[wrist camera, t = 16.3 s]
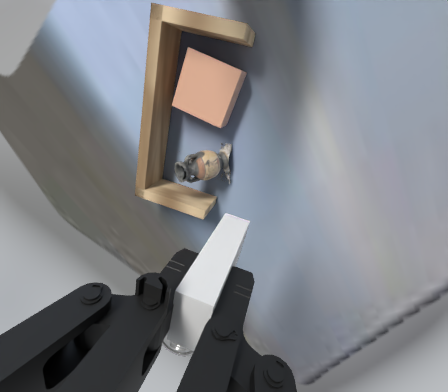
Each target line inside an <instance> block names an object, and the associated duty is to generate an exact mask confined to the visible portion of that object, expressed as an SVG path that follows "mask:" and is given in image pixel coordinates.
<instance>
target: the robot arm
mask: <svg viewBox="0 0 448 392" xmlns="http://www.w3.org/2000/svg"><path fill="white" fill-rule="evenodd" d="M249 223H250V221H248V220H245V219H242V218H239V217H236V216H233V215H230V214H227V213H225V215H224V216H223V218H222V219H221V221H220V222H219V224H218V225H217V227H216V228H215V230H214V232H213V233H212V235H211V236H210V238H209V239H208V241H207V242H206V244H205V245H204V247H203V249H202V250H201V252H200V253H199V254H198V253H196V252H193V251H190V250H188V249H185V248H184V249H182V250H181V251H179V252H177V253H176V254H175V255H174V256H173V258H172V259H171V261H169V263H168V264H167V265H166V266H165V268H164V269H163V270H162V271H161V273H160V274H159V273H147V274H144V275H141V276H140V277H139V278H138V279H137V280H136V293H135V295H132V296H125V295H115V294H111V290H110V288H109V287H108V286H107V285H105V284H103V283H89V284H86V285H83V286H81V287H79V288H78V289H76V290H74V291H73V292H71V293H69V294H68V295H66V296H64V297H63V298H61V299H59V300H58V301H56V302H54V303H53V304H51V305H49V306H48V307H46V308H44V309H43V310H41V311H39V312H38V313H36V314H35V315H33V316H31V317H30V318H28V319H26V320H25V321H23V322H21V323H20V324H18V325H16V326H15V327H13V328H11V329H10V330H8V331H6V332H5V333H3V334H1V335H0V392H138V391H139V389H140V387H141V385H142V384H143V382H144V380H145V378H146V376H147V374H148V373H149V371H150V369H151V367H152V365H153V364H154V362H155V360H156V358H157V356H158V354H159V353H160V350H161V346H162V342H163V340H164V338H165V336H166V335H167V340H169V341H172V342H174V343H176V344H178V345H181V346H183V347H185V348H187V349H190V350H192V351H194V352H193V354H192V357H191V359H190V362H189V364H188V366H187V368H186V371H185V373H184V375H183V378H182V380H181V383H180V385H179V387H178V389H177V392H297V390H296V384H295V379H294V376H293V373H292V370H291V369H290V368H289V366H288V365H287V363H285V362H284V361H283V360H282V359H280V358H279V357H276V356H274V355H264V356H261V355H260V354H258V353H257V352H256V351H255V350H254V349H253V348H252V347H251V346H250V345H249V344H248V343H247V341H246V340H245V337H244V335H243V323H244V319H245V316H246V312H247V308H248V304H249V301H250V297H251V293H252V289H253V286H254V278H253V274H252V273H251V272H248V271H246V270H243V269H240V268H238V267H235V266H236V264H237V261H238V259H239V256H240V252H241V249H242V246H243V242H244V239H245V236H246V233H247V229H248V226H249ZM167 333H168V334H167Z"/></svg>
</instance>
